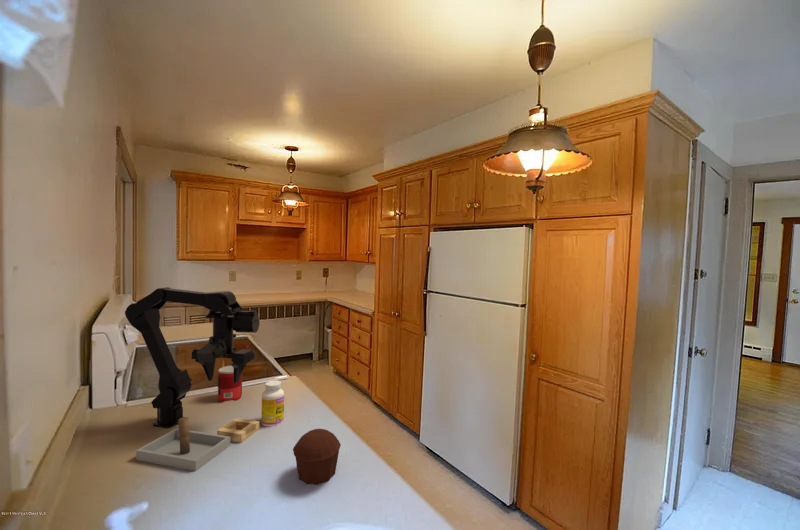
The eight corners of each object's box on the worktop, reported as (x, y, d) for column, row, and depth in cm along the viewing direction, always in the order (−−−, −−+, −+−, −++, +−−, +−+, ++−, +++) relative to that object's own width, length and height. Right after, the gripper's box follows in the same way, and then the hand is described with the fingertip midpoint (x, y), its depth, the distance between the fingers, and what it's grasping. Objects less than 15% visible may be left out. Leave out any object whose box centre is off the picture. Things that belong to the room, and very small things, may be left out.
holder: (217, 440, 102) (217, 430, 102) (236, 427, 109) (236, 418, 109) (241, 444, 100) (241, 434, 100) (259, 431, 108) (259, 421, 107)
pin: (178, 453, 94) (176, 420, 93) (185, 449, 96) (183, 416, 95) (185, 455, 93) (183, 421, 93) (191, 450, 95) (190, 417, 95)
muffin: (301, 459, 94) (302, 421, 93) (343, 460, 93) (344, 422, 93) (285, 488, 82) (286, 445, 81) (334, 490, 81) (334, 447, 81)
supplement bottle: (276, 429, 109) (277, 387, 108) (257, 427, 110) (257, 385, 110) (287, 419, 115) (288, 380, 115) (269, 417, 117) (269, 378, 116)
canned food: (246, 397, 133) (246, 367, 132) (225, 404, 126) (226, 373, 126) (234, 392, 137) (234, 363, 136) (213, 399, 130) (213, 369, 130)
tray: (136, 462, 91) (136, 450, 91) (176, 438, 102) (176, 428, 102) (196, 473, 87) (196, 461, 87) (230, 447, 98) (230, 436, 98)
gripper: (176, 335, 106) (176, 388, 106) (231, 340, 101) (231, 394, 102) (205, 328, 117) (205, 375, 117) (255, 332, 112) (255, 381, 113)
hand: (223, 381), depth 112 cm, fingers open, 9 cm apart
